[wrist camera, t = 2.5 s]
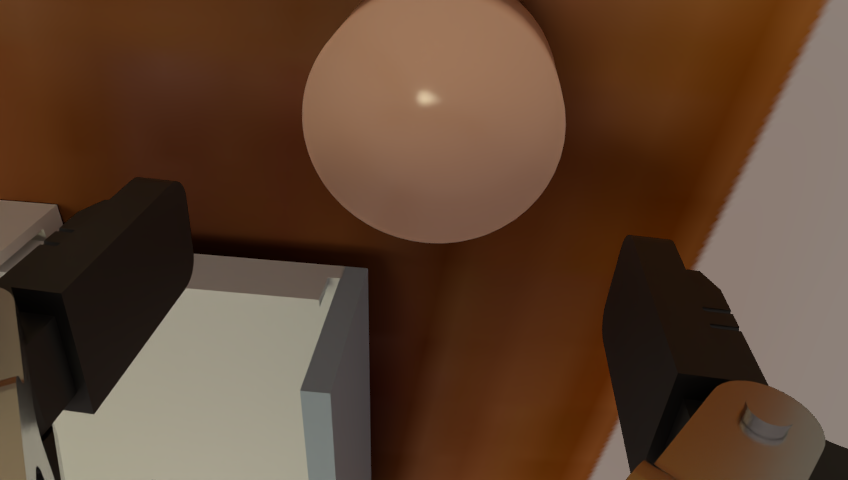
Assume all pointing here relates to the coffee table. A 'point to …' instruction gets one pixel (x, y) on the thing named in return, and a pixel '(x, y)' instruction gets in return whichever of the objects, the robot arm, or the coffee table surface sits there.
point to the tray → (238, 381)
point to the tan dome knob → (435, 116)
